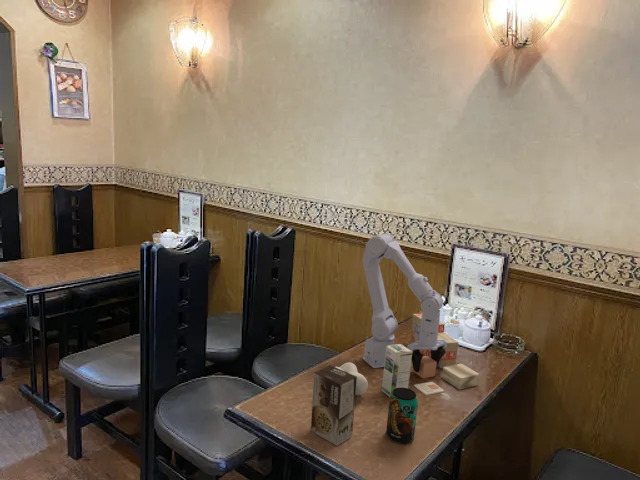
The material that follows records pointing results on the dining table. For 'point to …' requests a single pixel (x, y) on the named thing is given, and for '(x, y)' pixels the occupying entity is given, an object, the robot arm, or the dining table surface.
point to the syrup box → (396, 368)
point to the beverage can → (402, 415)
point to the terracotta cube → (427, 367)
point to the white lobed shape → (361, 380)
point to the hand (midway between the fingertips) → (424, 369)
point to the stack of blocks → (452, 344)
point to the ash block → (460, 376)
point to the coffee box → (333, 404)
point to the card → (429, 388)
